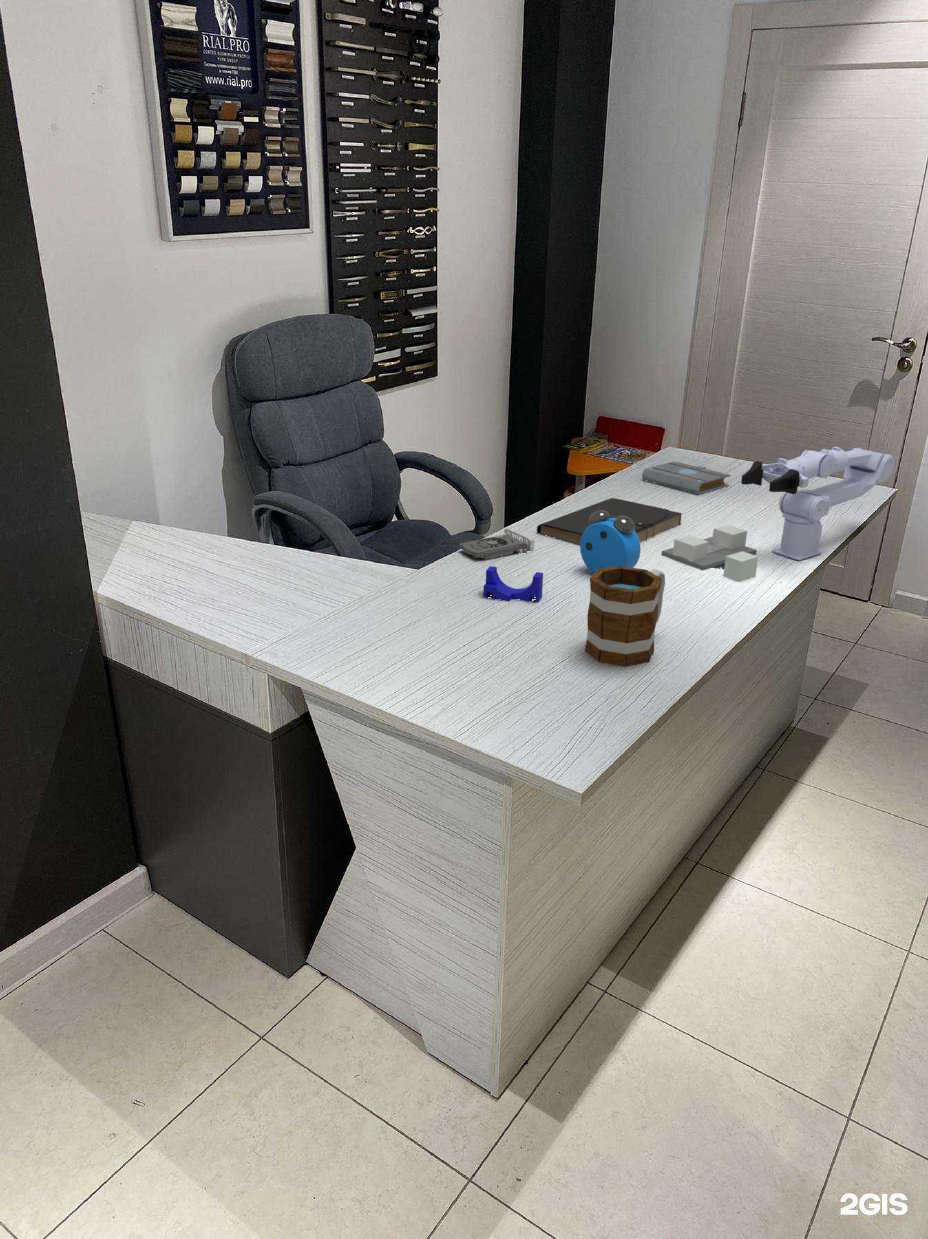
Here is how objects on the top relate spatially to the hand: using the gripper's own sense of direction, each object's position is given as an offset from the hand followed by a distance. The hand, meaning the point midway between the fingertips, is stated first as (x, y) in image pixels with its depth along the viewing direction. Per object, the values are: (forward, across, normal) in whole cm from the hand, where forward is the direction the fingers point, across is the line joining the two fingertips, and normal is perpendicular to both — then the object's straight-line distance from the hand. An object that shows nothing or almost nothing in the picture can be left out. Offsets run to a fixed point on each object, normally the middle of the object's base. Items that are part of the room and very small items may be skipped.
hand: (756, 483), depth 217 cm
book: (-46, -59, +24) cm, 79 cm away
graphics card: (+41, -45, +19) cm, 64 cm away
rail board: (-1, -12, +21) cm, 24 cm away
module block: (+5, +2, +21) cm, 22 cm away
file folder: (+5, -40, +21) cm, 46 cm away
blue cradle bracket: (+57, -19, +18) cm, 63 cm away
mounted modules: (-1, -12, +21) cm, 24 cm away
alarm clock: (+30, -16, +20) cm, 40 cm away
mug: (+54, +13, +18) cm, 59 cm away
